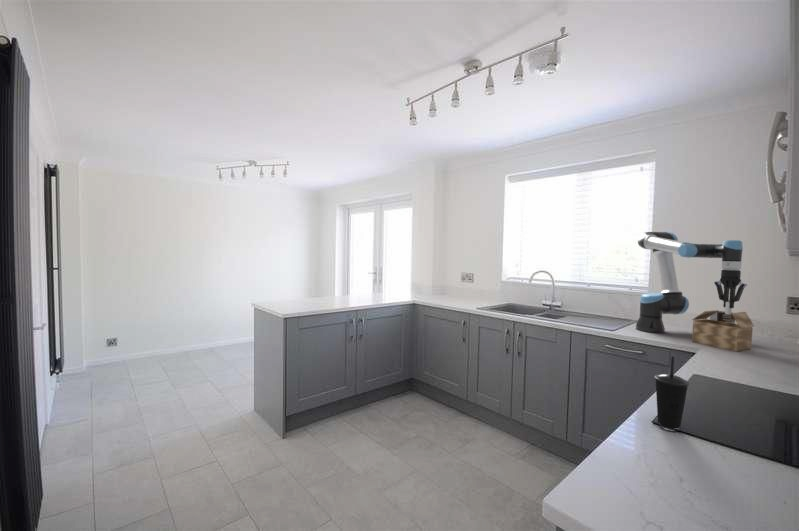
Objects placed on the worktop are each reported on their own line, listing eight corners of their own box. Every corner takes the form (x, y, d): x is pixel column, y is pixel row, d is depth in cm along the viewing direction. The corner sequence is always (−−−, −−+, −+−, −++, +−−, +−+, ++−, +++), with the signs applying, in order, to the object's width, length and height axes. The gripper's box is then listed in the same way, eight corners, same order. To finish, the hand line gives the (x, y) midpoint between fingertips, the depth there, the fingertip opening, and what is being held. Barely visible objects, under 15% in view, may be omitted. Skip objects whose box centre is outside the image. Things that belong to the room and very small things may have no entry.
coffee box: (716, 340, 202) (718, 312, 202) (708, 337, 209) (709, 310, 208) (734, 341, 201) (736, 313, 201) (724, 338, 208) (726, 311, 207)
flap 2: (731, 313, 181) (732, 312, 181) (744, 312, 186) (745, 311, 186) (740, 328, 178) (741, 328, 178) (753, 326, 183) (754, 326, 183)
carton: (691, 341, 197) (693, 320, 197) (705, 340, 202) (706, 319, 202) (737, 351, 179) (739, 328, 178) (751, 349, 184) (752, 326, 183)
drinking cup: (645, 420, 103) (649, 352, 102) (673, 421, 102) (678, 353, 101) (662, 433, 95) (667, 360, 94) (693, 435, 94) (697, 361, 94)
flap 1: (718, 310, 197) (718, 310, 197) (705, 311, 191) (704, 311, 192) (705, 318, 202) (705, 318, 202) (692, 320, 197) (691, 319, 197)
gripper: (712, 268, 191) (709, 312, 192) (743, 270, 179) (740, 316, 180) (719, 268, 194) (717, 311, 195) (750, 270, 182) (747, 315, 183)
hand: (728, 314), depth 188 cm, fingers closed
